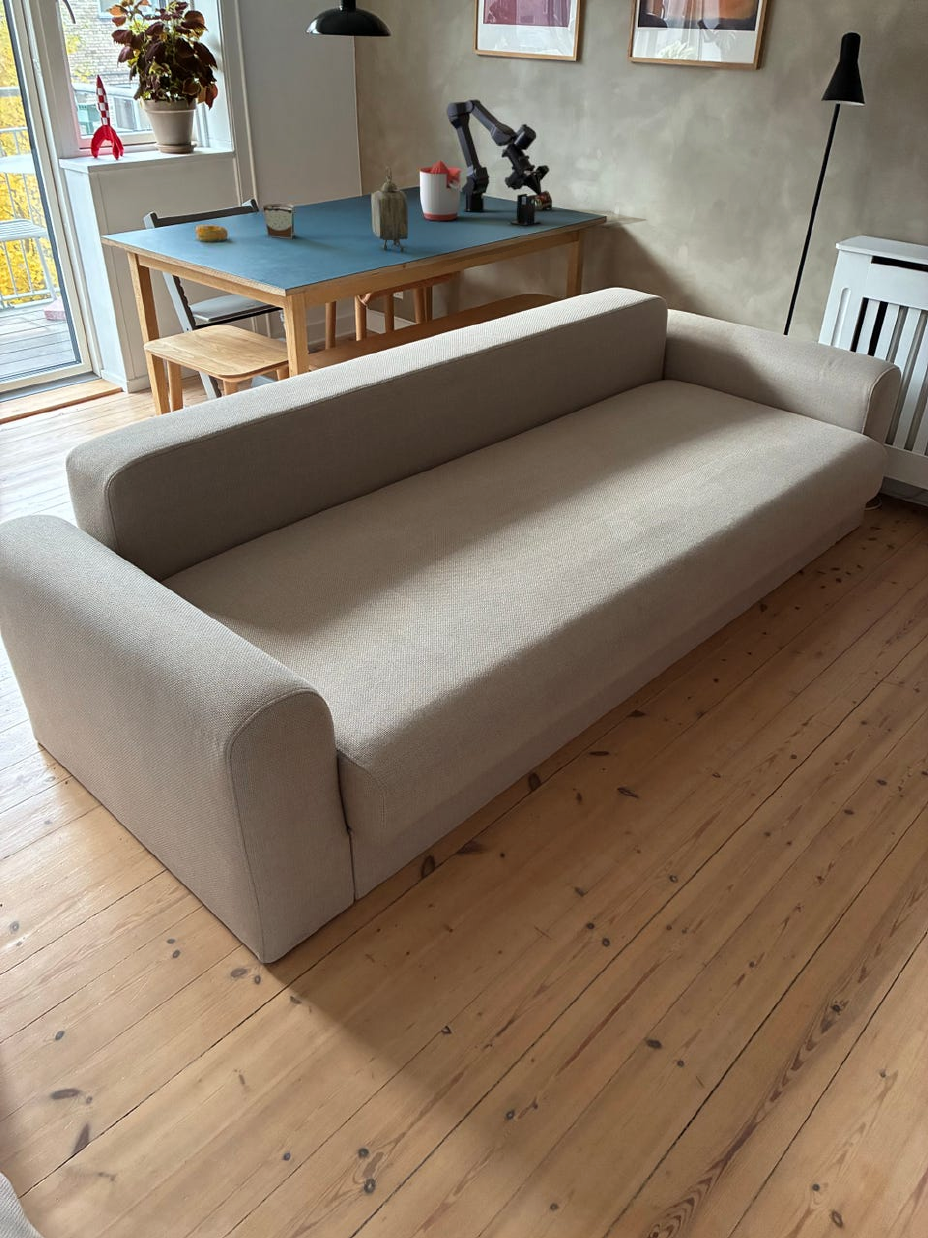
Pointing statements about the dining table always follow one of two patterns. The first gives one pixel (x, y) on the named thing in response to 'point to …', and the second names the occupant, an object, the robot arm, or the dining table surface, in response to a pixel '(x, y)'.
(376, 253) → the dining table surface
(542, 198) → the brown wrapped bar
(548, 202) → the mechanical counter
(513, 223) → the bracket
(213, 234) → the bagel
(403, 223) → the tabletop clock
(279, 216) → the food container
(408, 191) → the dining table surface
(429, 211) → the citrus juicer
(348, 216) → the dining table surface
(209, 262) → the dining table surface
